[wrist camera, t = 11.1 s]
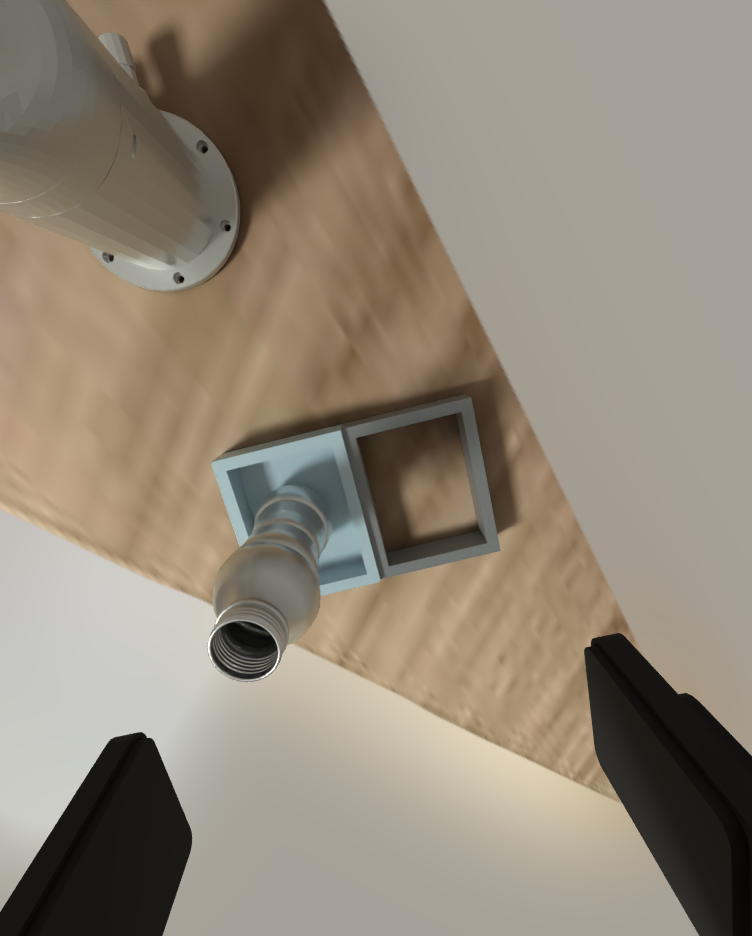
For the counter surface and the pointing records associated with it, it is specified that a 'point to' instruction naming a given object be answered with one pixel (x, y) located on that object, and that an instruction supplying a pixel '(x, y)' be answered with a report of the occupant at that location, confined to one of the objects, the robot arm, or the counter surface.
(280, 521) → the plastic bottle
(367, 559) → the bin
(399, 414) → the bin
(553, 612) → the counter surface
